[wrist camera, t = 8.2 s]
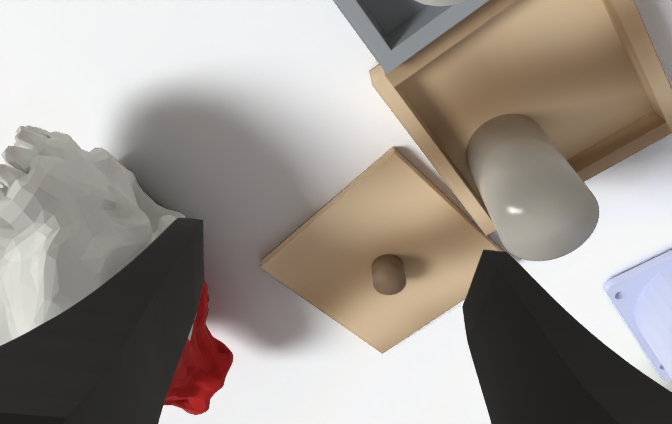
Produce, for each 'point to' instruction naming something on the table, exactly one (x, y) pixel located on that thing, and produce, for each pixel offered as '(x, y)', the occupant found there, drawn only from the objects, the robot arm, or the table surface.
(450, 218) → the oak lid
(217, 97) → the table surface
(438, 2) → the pale grey capsule
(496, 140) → the grey capsule cylinder
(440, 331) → the table surface
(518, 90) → the oak box
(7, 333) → the white and red lump
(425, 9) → the slate dish
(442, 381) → the table surface
